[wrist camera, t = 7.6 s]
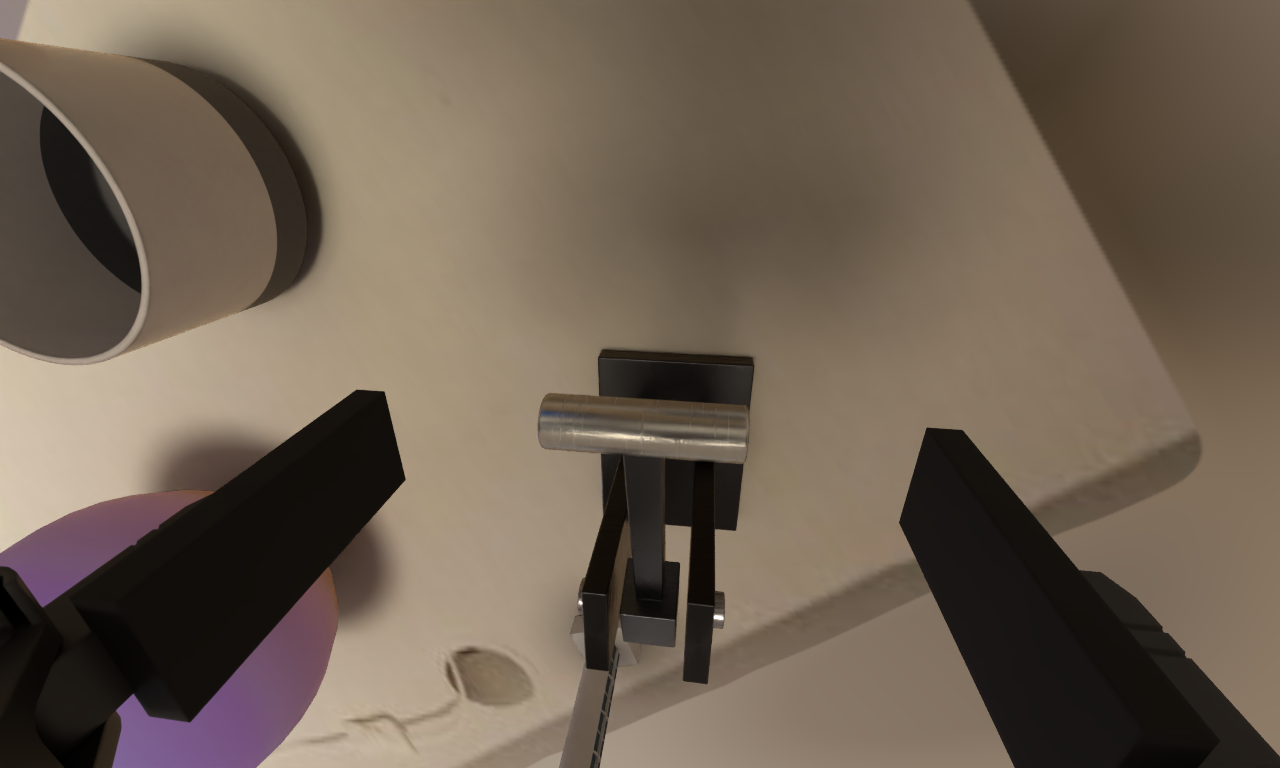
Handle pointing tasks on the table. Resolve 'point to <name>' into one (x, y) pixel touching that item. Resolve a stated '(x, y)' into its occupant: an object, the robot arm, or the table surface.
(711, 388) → the bracket
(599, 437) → the lever
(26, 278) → the planter
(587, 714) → the model tower
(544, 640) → the table surface
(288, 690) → the ball
